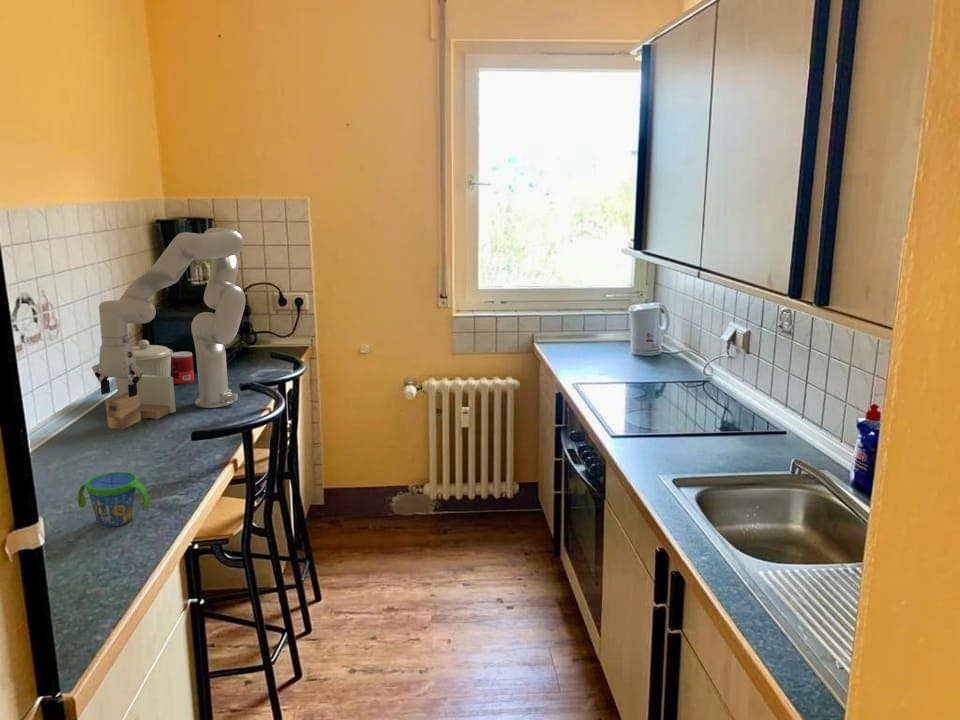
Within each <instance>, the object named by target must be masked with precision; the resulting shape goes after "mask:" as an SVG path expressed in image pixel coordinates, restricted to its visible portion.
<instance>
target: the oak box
mask: <svg viewBox="0 0 960 720" xmlns="http://www.w3.org/2000/svg"><path fill="white" fill-rule="evenodd" d="M105 408H106V417H107V426H108V429H113V428H115V430H124V428H125V429H127V428H128V426H129V427H130V425H131V426H133V425H134V423H135V424H137V423H139V422H141V421H142V418H141V413H140V404H139V394H137V395H136V396H133V397H129V394H128V393H122V394H120V395H118V394H117V395H116V396H113V397H110V398H108V399H105ZM140 420H141V421H140ZM138 421H139V422H138ZM136 422H137V423H136ZM132 424H133V425H132ZM126 427H127V428H126ZM117 428H118V429H117Z"/></svg>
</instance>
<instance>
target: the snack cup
mask: <svg viewBox="0 0 960 720" xmlns="http://www.w3.org/2000/svg"><path fill="white" fill-rule="evenodd" d="M85 489H86V492H87V493H88V494H89V498H90V501H91V506H92V509H93V511H94V516H95V518H96V522H97V524H98V525H99V526H100V527H105V528H110V527H115V526H118V527H120V526H123V525H122V524H124V525H126V524H128V523H130V522H131V521H133V518H134V514H135V504H136V503H135V502H136V490H137V492H138V493H139V494H140V495H141V496H142V499H143V500H142V510H143V511H146V510H147V508H148V507H149V504H150V498H149V494H148V491H147V488H146V487H145V486H144V485H143V483H141V482H139V481H138V476H137V475H136V474H134V473H132V472H128V471H112V472H111V471H110V472H107V473H102V474H98V475H96V476H94V477H92V478H90V479H88V480H86V482H85V483H83V484H82V485H80V487H79V489H78V494H77V504H78V507H80V508H85V507H86V505H87V498H86V495H85ZM129 521H130V522H129ZM127 522H128V523H127ZM125 523H126V524H125Z"/></svg>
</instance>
